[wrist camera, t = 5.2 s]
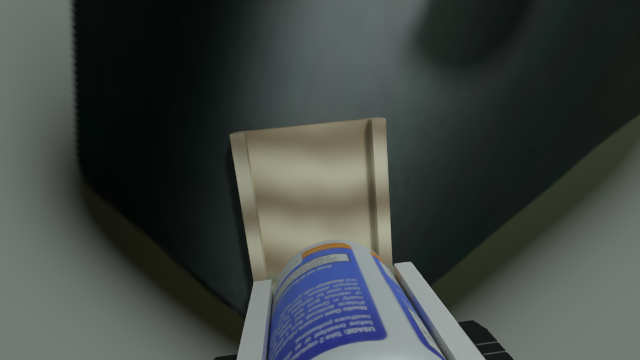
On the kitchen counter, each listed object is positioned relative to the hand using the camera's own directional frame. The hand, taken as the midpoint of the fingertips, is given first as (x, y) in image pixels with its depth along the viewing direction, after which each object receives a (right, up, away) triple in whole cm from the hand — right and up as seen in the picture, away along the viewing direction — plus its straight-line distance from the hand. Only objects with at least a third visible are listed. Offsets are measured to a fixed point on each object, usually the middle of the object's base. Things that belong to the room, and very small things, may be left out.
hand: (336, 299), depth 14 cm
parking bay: (-1, +4, +17) cm, 18 cm away
